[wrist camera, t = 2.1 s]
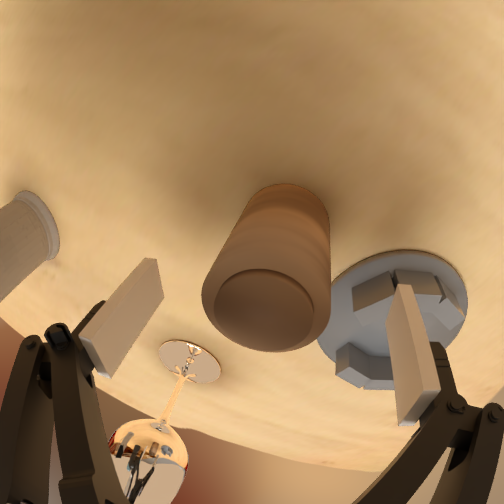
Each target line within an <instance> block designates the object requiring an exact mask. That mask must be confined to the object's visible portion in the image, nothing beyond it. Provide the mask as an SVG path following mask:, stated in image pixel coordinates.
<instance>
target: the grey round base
mask: <svg viewBox="0 0 504 504" xmlns="http://www.w3.org/2000/svg"><path fill="white" fill-rule="evenodd" d="M398 284H405V285H411V287H412V289H413V292H414V295H415V298H416V301H417V304H418V307H419V310H420V313H421V316H422V320H423V323H424V326H425V329H426V333H427V336H428V340H429V342H440V343H441V345H442V346H443V347H444V349H445V348H447V346H448V345H449V344H450V343H451V342H452V341H453V340H454V339H455V337H456V336H457V334H458V333H459V331H460V329H461V328H462V325H463V323H464V321H465V317H466V314H467V308H468V298H467V292H466V289H465V286H464V284H463V282H462V280H461V278H460V276H459V275H458V273H457V272H456V270H455V269H454V268H453V267H452V266H451V265H450V264H449V263H447V262H446V261H445V260H443V259H441V258H439V257H437V256H435V255H432V254H429V253H426V252H421V251H413V250H400V251H391V252H386V253H382V254H378V255H375V256H372V257H369V258H367V259H365V260H363V261H361V262H359V263H357V264H355V265H353V266H352V267H350V268H349V269H347V270H346V271H345V272H343V273H342V274H341V275H340V276H338V277H337V278H336V279H335V280H334V281H333V282H332V283H331V315H330V319H329V322H328V324H327V327H326V328H325V330H324V331H323V333H322V334H321V335H320V336H319V337H318V338H317V340H318V343H319V345H320V347H321V349H322V350H323V352H324V353H325V354H326V355H327V356H328V357H329V358H330V359H331V360H332V361H334V362H335V363H336V373H335V375H337V376H338V377H340V378H342V379H344V380H345V381H347V382H349V383H351V384H352V385H354V386H356V387H358V388H361V387H362V386H363V389H366V390H395V388H394V379H393V371H392V364H391V357H390V350H389V344H388V337H387V332H386V326H385V322H386V319H387V316H388V313H389V310H390V307H391V304H392V301H393V298H394V295H395V291H396V288H397V285H398Z"/></svg>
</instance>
